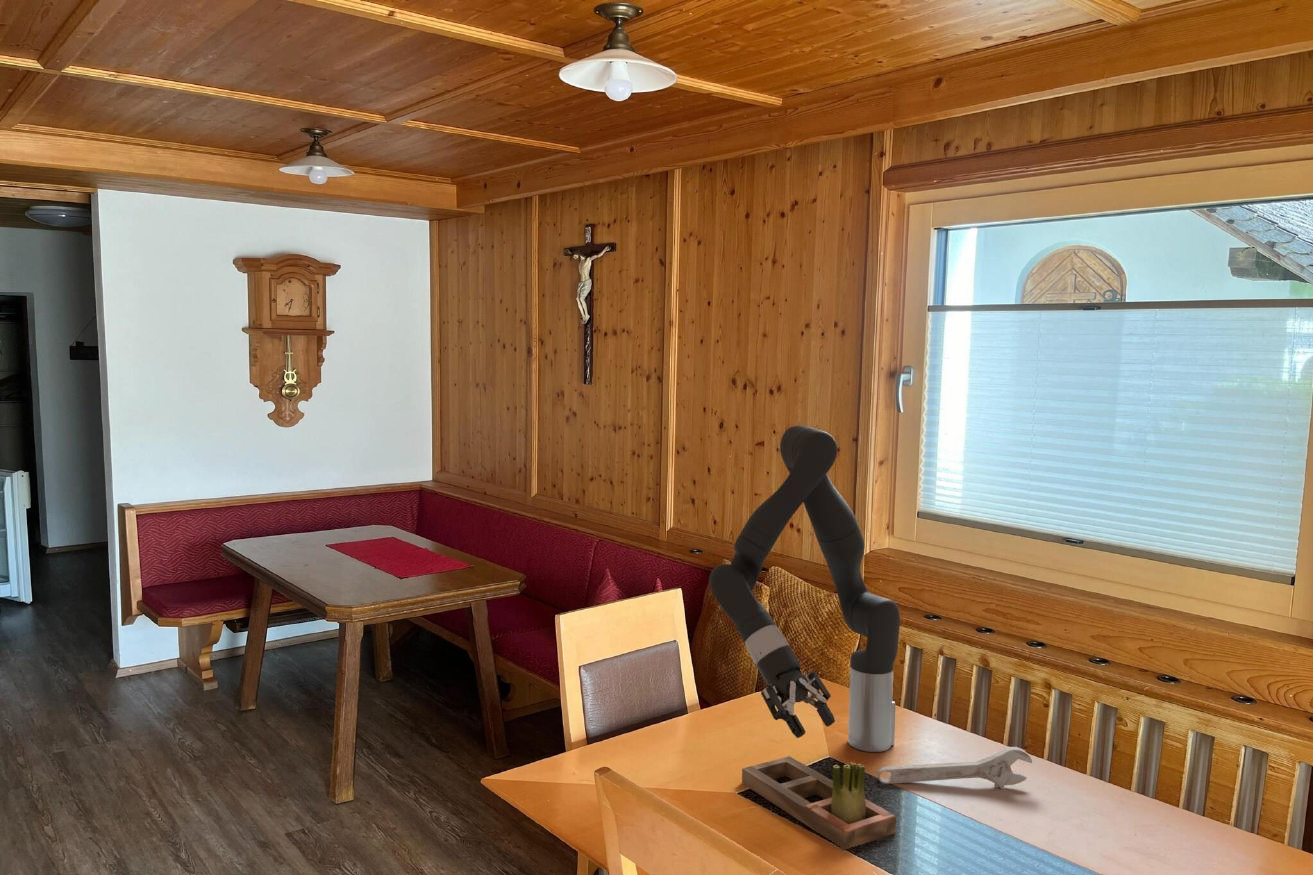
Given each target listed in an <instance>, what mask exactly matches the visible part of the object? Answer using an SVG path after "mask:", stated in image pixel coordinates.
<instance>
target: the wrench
mask: <svg viewBox="0 0 1313 875" xmlns="http://www.w3.org/2000/svg"><path fill="white" fill-rule="evenodd" d="M1018 760H1020V761H1023V762H1026V763H1029V764H1032V763H1033V760H1032V757H1031V756H1030V754H1029V753H1028V752H1027V751H1026V750H1025V749H1023V748H1021V747H1019V746H1009V747H1005V748H1004V749H1001V750H1000V751H998V752H996V753H994V754H992V755H990V756H986V757H985V758H982V759H979V760H976V761H961V762H944V763H943V762H942V763H927V764H926V763H925V764H908V765H905V764H903V765H889V766H886V765H885V766H882V767H880V768H878V770H877V773H876V774H877V778H878V780H879V782H880V783H881V784H890V785H892V784H904V783H917V782H931V781H932V782H933V781H946V780H947V781H949V780H961V779H978V778H979V779H983V780H987V781H989V782H992V783H994V785H993V787H994V788H997V789H998V788H1000V789H1001V790H1004V788H1005V786H1014V785H1017V784H1020V783H1022V782H1024V781H1026V780H1027V778H1028V777H1027V775H1025V774H1024V773H1022V772H1017V771H1014V770H1012V768H1011V766H1012V765H1013V764H1015V763H1016V761H1018ZM884 772H887V773H890V777H889V778H887V779H884V778H882V777H881V775H882V773H884Z"/></svg>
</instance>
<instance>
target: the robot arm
mask: <svg viewBox="0 0 1313 875" xmlns="http://www.w3.org/2000/svg"><path fill="white" fill-rule="evenodd" d="M779 452H780V456H781V458H782V461H783V463H784V466H785V468H786V469H787V471H788V473H789V474H788V476H787V477H786V478H785V480H784V481H783V482H782V484H781V485H780V486H779V487H778V489H777V490H775V492H774V493H772V495H770V496H769V497H768V498H767V499H766V500H764V501H763V502H762V503H761V504H760V505H759V506H758V507H757V508H756V509H755V510H754V511H753V513H752V514H751V515H750V516H749V517H748V519H747V521H746V522H745V524H744V526H743V528H742V530H741V532H739V535H738V537H737V538H736V541H735V542H734V545H733V547H734V550H735V552H734V556H733V558H732V559H731V562H730V563H729V564H728V563H722V564H719V565H716V566H715V567H714V568H713V569H712V571H711V572H710V574H709V578H708V583H709V585H708V586H709V589H710V591H711V593H712V595H713V596H714V598H715V600H716V602H717V603H718V604H719V605H720V606H721V608H722V609H723V611H724V612H725V614H726V615H727V616H728V617H729V618H730V620H731V621H732V623H733V624H734V626H735V629H736V630H737V633H738V634H739V636H740V637H741V640H742V641H743V643H744V644H745V647H746V650H747V652H748V653H749V656H750V658H751V660H752V661H753V662H754V664H755V665H756V668H757V670H758V671H759V673H760V675H761V676H762V678H763V680H764V681H765V683H766V684H767V686H766V687H765V688H764V689H763V690H762V691H761V692H760V695H761V697H762V699H763V700H764V702H765V704H766V706H767V708H768V710H769V712H770V714H771V716H772V718H773V719H774V720H775V721H778V720H782V721H784V722H785V723H786V725H787V726H788V728H789V730H790V731H791V734H793V735H794V737H795V738H796V739H799V738H802V737H803V736H805V734H806V730H805V728H804V726H803V724H802V722H801V721H800V719H799V718H798V716H797V714H795V704H796V703H802V702H803V703H805V704H809V705H811V706H812V707H814V708H815V709H816V712H817V714H818V716H819V718H820V719H821V720H822V722H823V723H824V726H825V727H827V728H828V727H831V726H832V725H833V724H834V723H835V721H836V720H835V716H834V714H833V712H831V711H832V710H831V709H830V708H829V706H828V704H827V701H828V700H829V699H830V698H831V695H832V694H831V693H830V692H829V690H828V689H827V687H826V686H825V684H824V683H823V681H822V680H821V678H820V677H819V675H818V673H817V672H816V671H815V670H811V672H809V673H807V674H804V673H803V672H802V671H801V663H800V660H799V659H798V658H797V656H796V654H795V652H794V651H793V648H792V647H791V645H790V644H789V642H788V640H787V639H786V637H785V636H784V633H782V632H781V631H780V629H779V628H778V627H777V625H776V623H775V622H774V620H773V619H772V616H771V615H770V614H769V612H768V611H767V609H766V607H764V605H763V604H762V603H761V602H759V601H758V599H756V597H755V596H754V593H753V590H754V589H755V586H756V584H757V582H758V580H759V579H758V578H759V577H760V574H761V571H762V568H763V565H764V563H765V560H766V559H767V557H768V556H769V553H770V552H771V551H772V549H773V548H774V546H775V544H776V542H777V541H778V539H779V537H780V536H781V534H782V532H783V531H784V529H785V527H786V526H787V524H788V523H789V522H790V520H791V518H792V517H793V516H794V515H795V513H796V512H797V511H798V509H799V508H800V507H801V505H802V504H803V505H804V508H805V510H806V513H807V516H808V518H809V520H810V523H811V525H812V526H811V527H812V528H813V532H814V534H815V538H816V540H817V543H818V545H819V548H820V551H821V552H822V555H823V557H824V559H825V562H826V564H827V568H828V570H829V572H830V576H831V578H832V581H833V584H834V587H835V591H836V593H837V599H838V601H839V606H840V610H841V613H842V618H843V619H844V622H845V624H846V626H847V628H848V629H850V631H852V632H853V633H856V634H858V635H860V636H863V637H865V638H866V643H865V644H866V646H865V648H862V649H858V650H855V651H853V652H852V653H851V654H850V661H849V662H850V664H849V695H848V696H849V700H848V701H849V702H848V735H847V736H848V737H847V738H848V740H847V742H848V745H849V746H850V747H852V748H854V749H857V750H859V751H864V752H869V753H881V752H885V751H888V750H889V749H890V748H891V746H893V745H895V737H896V736H895V732H896V729H895V728H896V727H895V726H896V706H897V704H896V703H895V701H893V691H894V689H893V687H894V664H895V662H896V659H897V656H898V649H899V648H898V647H899V638H900V626H901V625H900V624H901V615H900V614H901V613H900V610H899V607H898V605H897V603H896V602H895V601H894V600H892V599H890V598H886V597H883V596H879V595H877V594H873V593H871V592H870V591H869V589H868V588H867V586H866V584H865V581H864V579H863V576H862V573H861V572H862V570H861V566H862V561H863V557H864V553H865V540H864V536H863V533H862V531H861V528H860V525H859V522H858V520H857V517H856V516H855V513H854V511H853V510H852V509H851V507H850V506H849V504H848V503H847V501H846V500H845V499H844V497H843V496H842V495H841V493H840V492H839V491H838V489H837V488H836V486H835V485H834V484H833V482H832V480H831V479H830V476H829V475H828V472H829V471H830V470H831V468H832V467H833V465H834V464H835V462H836V459H837V456H838V444H837V441H836V439H835V438H834V436H832V435H831V433H828V432H826V431H823V430H821V429H819V428H815V427H812V426H808V425H793V426H791V427H789V428H787V429H786V430H785V431H784V433H783V434H782V437H781V439H780V443H779Z"/></svg>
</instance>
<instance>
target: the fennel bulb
mask: <svg viewBox="0 0 1313 875" xmlns="http://www.w3.org/2000/svg"><path fill="white" fill-rule="evenodd" d="M842 767H843V768H842V775H841V767H840V766H839V765H838V764H835V765H833V766H832V781H833V791H832V801H831V811H832V815H834V816H836V817H837V818H839V819H840V820H842V821H844V822H845V823H847V824H852V823H855V822H858V821H861V820H864V819H865V815H866V802H865V799H866V796H865V789H864V787H865V786H864V784H865V781H864V780H865V773H866V772H865V771H866V765H863V764H862V763H858V764H857V763H856V762H854V761H853V762H850V765H849V764H847V763H846V764H844V765H843V766H842Z"/></svg>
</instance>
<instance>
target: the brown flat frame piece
mask: <svg viewBox="0 0 1313 875" xmlns="http://www.w3.org/2000/svg"><path fill="white" fill-rule="evenodd" d="M741 771H742V772H741V783H742V784H743V785H744V786H746V787H747V788H749V789H750V790H752V791H753V792H755V793H757V794H758V795H760V796H761V797H762V798H764V799H766V800H767V801H769V802H770V803H772V804H773V805H775V806H777V807H778V808H780V809H781V810H783V811H784V812H786V813H787V814H789V815H790V816H791V817H793V818H795V819H796V820H798V821H800V822H801V823H803V824H804V825H806V826H807V827H809V828H810V829H812V830H813V831H815V832H816V833H818V834H819V833H820V835H821V836H822V835H823V837H824V838H825V837H826V838H825V839H827V838H828V839H829V840H828V839H827V840H828V841H830V840H831V841H832V842H831V841H830V842H831V843H833V842H834V843H835V845H836V844H837V845H836V846H838V847H839V846H840V847H839V848H841V847H842V848H843V849H842V848H841V849H842V850H844V849H847V850H850V849H852V848H851V847H853V848H855V846H856V847H858V845H859V846H862V845H865V844H867V843H870V842H873V841H876V840H880V839H883V838H886V837H889V836H892V835H895V834H896V833H897V832H896V831H897V830H896V828H897V816H896V815H895V814H893V813H892V812H890V811H887V810H886V809H885V808H883V807H881V806H879V805H878V804H876V803H873V802H872V801H871V800H869V799H866V798H865V802H866V815H865V819H864V820H861V821H858V822H855V823H852V824H847V823H845V822H844V821H842V820H840V819H839V818H837V817H836V816H834V815H832V811H831V801H832V791H833V779H831V778H828V777H827V776H825V775H823V774H822V773H820V772H818V771H816V770H815V769H813V768H812V767H809V766H808V765H806V764H805V763H802V762H801V761H799V760H798V759H796V758H793V757H792V756H791V755H789V756H786V757H782V758H779V759H778V758H777V759H774V760H770V761H765V762H762V763H758V764H754V765H750V766H746V767H742V769H741ZM784 777H787V778H788V779H791V780H789V781H786V782H782V783H779V782H778V781H777V780H776V779H780V778H784ZM812 796H818V797H821V798H822V800H819V801H815V802H810V801H809V800H807V799H806V798H809V797H812ZM834 843H833V844H834ZM849 848H850V849H849Z"/></svg>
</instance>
